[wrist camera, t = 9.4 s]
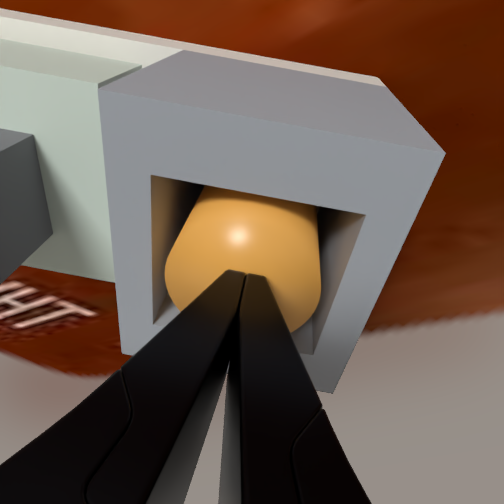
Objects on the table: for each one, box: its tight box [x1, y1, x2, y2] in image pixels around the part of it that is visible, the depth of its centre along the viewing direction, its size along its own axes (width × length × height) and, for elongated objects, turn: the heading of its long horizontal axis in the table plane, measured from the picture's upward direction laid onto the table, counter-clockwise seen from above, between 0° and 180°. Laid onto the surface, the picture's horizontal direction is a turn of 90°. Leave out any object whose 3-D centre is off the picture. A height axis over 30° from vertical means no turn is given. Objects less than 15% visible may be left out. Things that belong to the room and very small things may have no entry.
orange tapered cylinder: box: [165, 185, 321, 333], centre depth 10 cm, size 3×3×6 cm
